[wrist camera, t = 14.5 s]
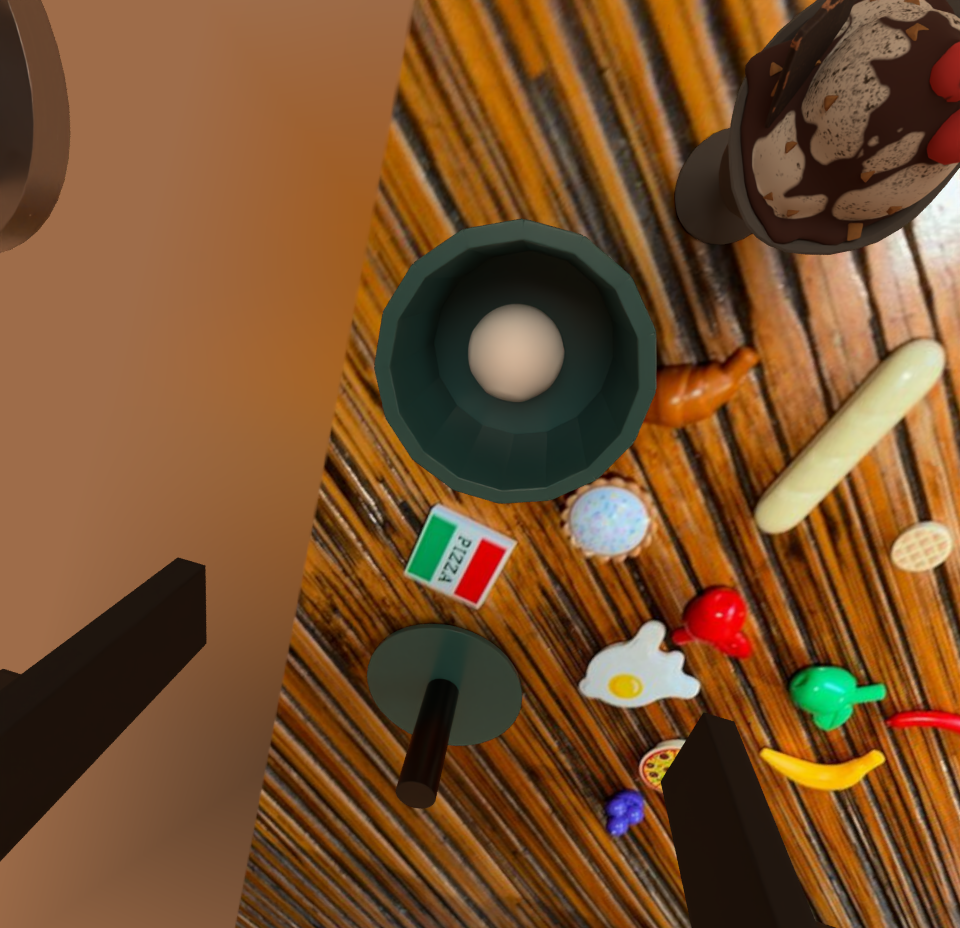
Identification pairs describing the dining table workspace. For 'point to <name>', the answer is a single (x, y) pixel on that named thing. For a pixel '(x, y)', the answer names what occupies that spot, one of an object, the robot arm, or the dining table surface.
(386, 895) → the dining table surface
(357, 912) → the dining table surface
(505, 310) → the beige ball
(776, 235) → the sundae
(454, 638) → the lid
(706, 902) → the robot arm
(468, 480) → the pot
